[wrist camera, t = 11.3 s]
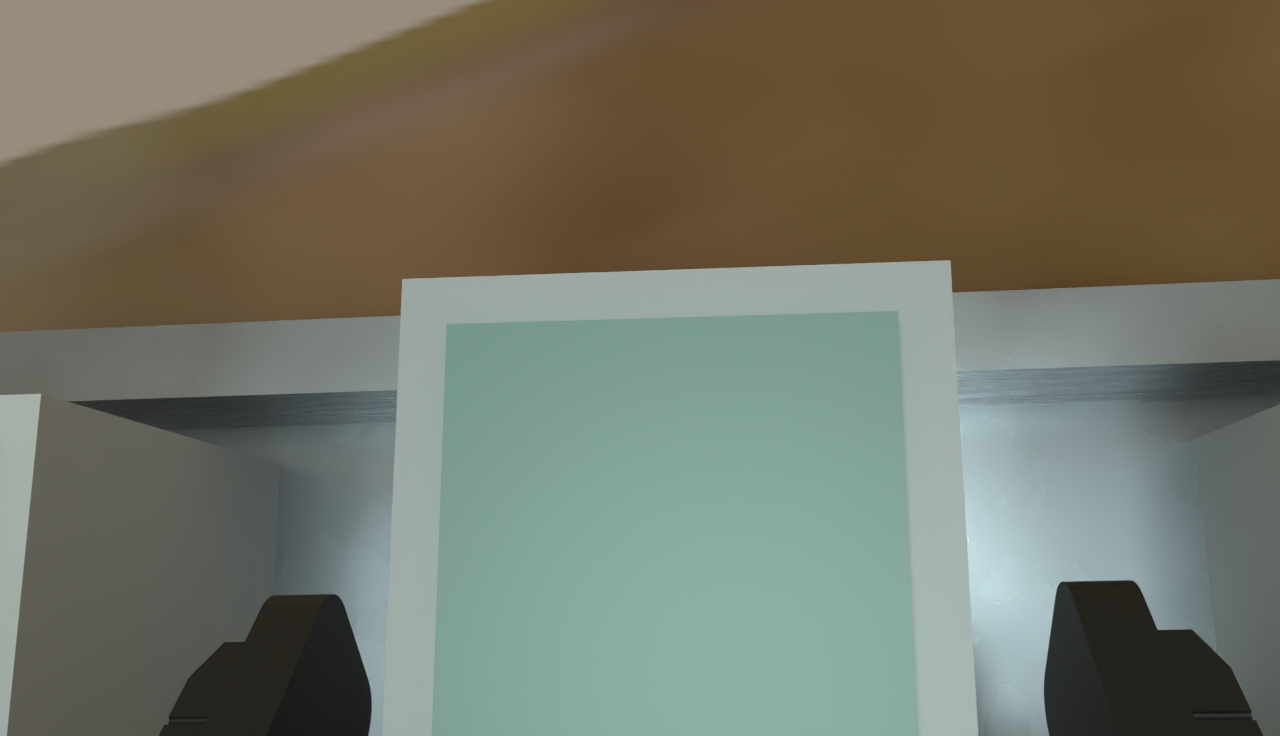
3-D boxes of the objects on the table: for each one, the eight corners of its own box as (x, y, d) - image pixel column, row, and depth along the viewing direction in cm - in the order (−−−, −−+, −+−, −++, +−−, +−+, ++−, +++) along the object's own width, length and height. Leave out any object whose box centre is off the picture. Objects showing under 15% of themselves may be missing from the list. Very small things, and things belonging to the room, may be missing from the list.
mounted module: (-11, 831, 20) (-430, 949, 13) (26, 470, 21) (-338, 403, 14) (259, 834, 20) (-28, 960, 13) (280, 463, 21) (30, 390, 14)
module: (576, 854, 19) (355, 1123, 9) (580, 436, 20) (394, 273, 10) (882, 862, 18) (1007, 1159, 8) (865, 431, 20) (953, 252, 10)
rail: (38, 855, 21) (-150, 919, 17) (82, 387, 23) (-79, 335, 19) (1531, 876, 19) (1764, 958, 14) (1444, 338, 20) (1625, 265, 16)
